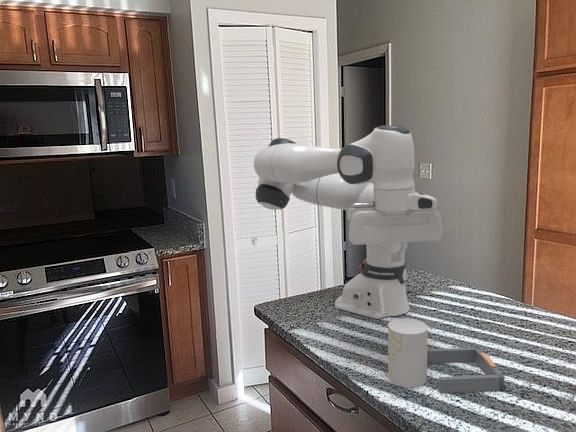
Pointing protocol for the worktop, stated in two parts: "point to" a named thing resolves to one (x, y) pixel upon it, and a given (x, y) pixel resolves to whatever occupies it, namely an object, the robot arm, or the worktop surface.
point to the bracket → (467, 383)
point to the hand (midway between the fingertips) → (395, 261)
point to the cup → (407, 352)
